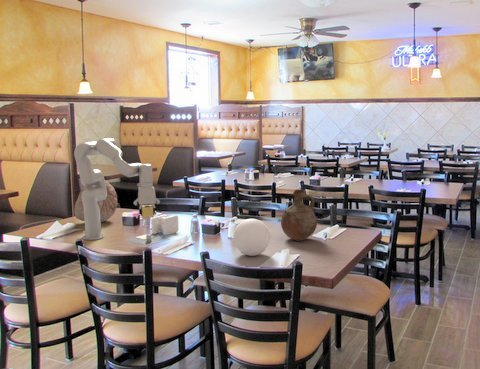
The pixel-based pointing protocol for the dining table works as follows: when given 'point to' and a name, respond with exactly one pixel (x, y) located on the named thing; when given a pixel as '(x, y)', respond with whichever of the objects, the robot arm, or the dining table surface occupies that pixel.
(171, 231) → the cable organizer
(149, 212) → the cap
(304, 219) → the jug
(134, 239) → the board
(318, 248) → the dining table surface
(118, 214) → the dining table surface
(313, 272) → the dining table surface
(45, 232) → the dining table surface
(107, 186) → the fossil
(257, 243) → the sphere
